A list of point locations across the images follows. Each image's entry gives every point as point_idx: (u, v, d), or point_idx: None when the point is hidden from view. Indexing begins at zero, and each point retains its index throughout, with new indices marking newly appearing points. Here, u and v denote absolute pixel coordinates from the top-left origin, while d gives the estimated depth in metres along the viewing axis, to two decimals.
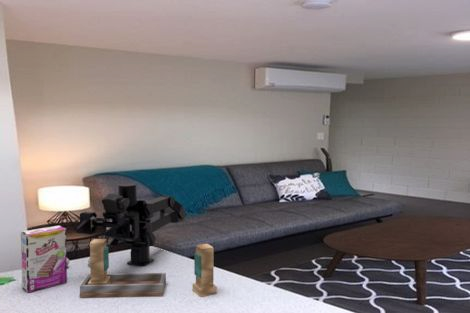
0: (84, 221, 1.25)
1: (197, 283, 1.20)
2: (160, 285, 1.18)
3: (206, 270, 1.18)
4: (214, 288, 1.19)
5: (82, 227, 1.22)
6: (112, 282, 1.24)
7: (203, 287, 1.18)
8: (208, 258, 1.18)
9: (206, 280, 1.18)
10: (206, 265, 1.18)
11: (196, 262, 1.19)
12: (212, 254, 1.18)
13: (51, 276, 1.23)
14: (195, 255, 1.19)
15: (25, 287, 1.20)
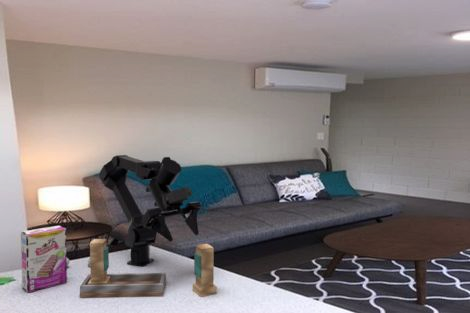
0: (163, 224, 1.23)
1: (197, 283, 1.20)
2: (160, 285, 1.18)
3: (206, 270, 1.18)
4: (214, 288, 1.19)
5: None
6: (112, 282, 1.24)
7: (203, 287, 1.18)
8: (208, 258, 1.18)
9: (206, 280, 1.18)
10: (206, 265, 1.18)
11: (196, 262, 1.19)
12: (212, 254, 1.18)
13: (51, 276, 1.23)
14: (195, 255, 1.19)
15: (25, 287, 1.20)
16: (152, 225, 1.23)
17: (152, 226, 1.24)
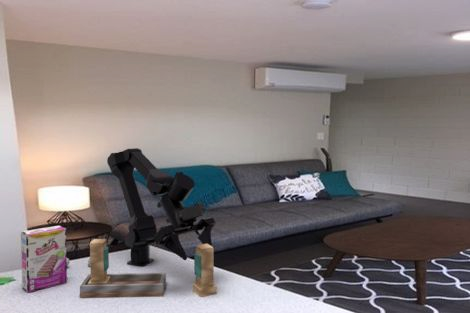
0: (177, 242, 1.19)
1: (197, 283, 1.20)
2: (160, 285, 1.18)
3: (206, 270, 1.18)
4: (214, 288, 1.19)
5: None
6: (112, 282, 1.24)
7: (203, 287, 1.18)
8: (208, 258, 1.18)
9: (206, 280, 1.18)
10: (206, 265, 1.18)
11: (196, 262, 1.19)
12: (212, 254, 1.18)
13: (51, 276, 1.23)
14: (195, 255, 1.19)
15: (25, 287, 1.20)
16: (165, 243, 1.19)
17: (165, 244, 1.20)
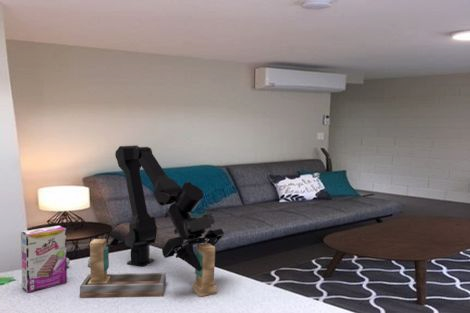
0: (192, 253, 1.17)
1: (197, 282, 1.20)
2: (160, 285, 1.18)
3: (207, 269, 1.18)
4: (214, 288, 1.19)
5: None
6: (112, 282, 1.24)
7: (203, 286, 1.18)
8: (209, 257, 1.18)
9: (207, 279, 1.18)
10: (207, 264, 1.18)
11: None
12: (213, 254, 1.19)
13: (51, 276, 1.23)
14: (196, 254, 1.19)
15: (25, 287, 1.20)
16: (180, 254, 1.18)
17: (179, 255, 1.19)
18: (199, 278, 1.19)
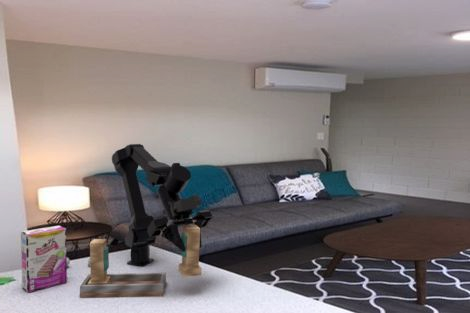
0: (176, 233, 1.17)
1: (183, 263, 1.20)
2: (160, 285, 1.18)
3: (191, 250, 1.17)
4: (199, 269, 1.18)
5: None
6: (112, 282, 1.24)
7: (188, 267, 1.17)
8: (194, 239, 1.17)
9: (191, 261, 1.18)
10: (192, 245, 1.17)
11: None
12: (198, 235, 1.18)
13: (51, 276, 1.23)
14: (182, 235, 1.19)
15: (25, 287, 1.20)
16: (165, 234, 1.18)
17: (165, 235, 1.19)
18: (184, 259, 1.19)
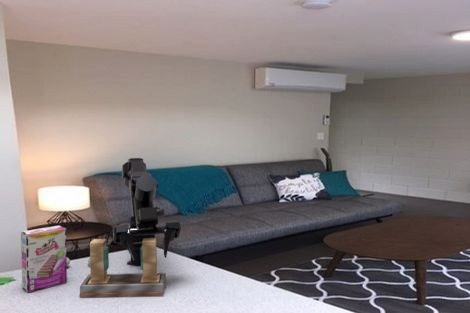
0: (129, 242, 1.20)
1: None
2: (160, 285, 1.18)
3: (148, 263, 1.20)
4: (156, 282, 1.20)
5: None
6: (112, 282, 1.24)
7: (145, 280, 1.20)
8: (150, 252, 1.19)
9: (148, 273, 1.20)
10: (148, 258, 1.19)
11: None
12: (154, 248, 1.19)
13: (51, 276, 1.23)
14: (141, 248, 1.22)
15: (25, 287, 1.20)
16: (122, 241, 1.22)
17: (122, 242, 1.23)
18: None
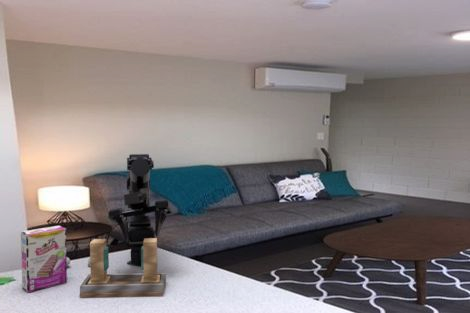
0: (121, 225, 1.30)
1: None
2: (160, 285, 1.18)
3: (148, 264, 1.20)
4: (156, 283, 1.20)
5: (126, 233, 1.29)
6: (112, 282, 1.24)
7: (145, 280, 1.20)
8: (150, 252, 1.19)
9: (148, 273, 1.20)
10: (148, 259, 1.19)
11: None
12: (155, 249, 1.19)
13: (51, 276, 1.23)
14: (142, 248, 1.22)
15: (25, 287, 1.20)
16: (118, 223, 1.33)
17: None
18: None
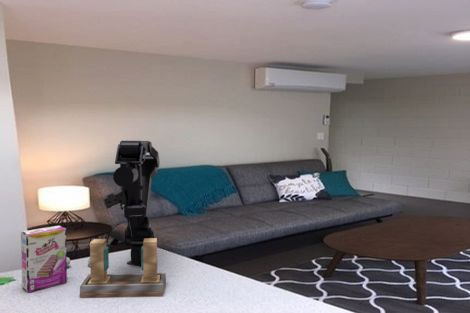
0: None
1: None
2: (160, 285, 1.18)
3: (148, 264, 1.20)
4: (156, 283, 1.20)
5: None
6: (112, 282, 1.24)
7: (145, 280, 1.20)
8: (150, 252, 1.19)
9: (148, 273, 1.20)
10: (148, 259, 1.19)
11: None
12: (155, 249, 1.19)
13: (51, 276, 1.23)
14: (142, 248, 1.22)
15: (25, 287, 1.20)
16: None
17: None
18: None
